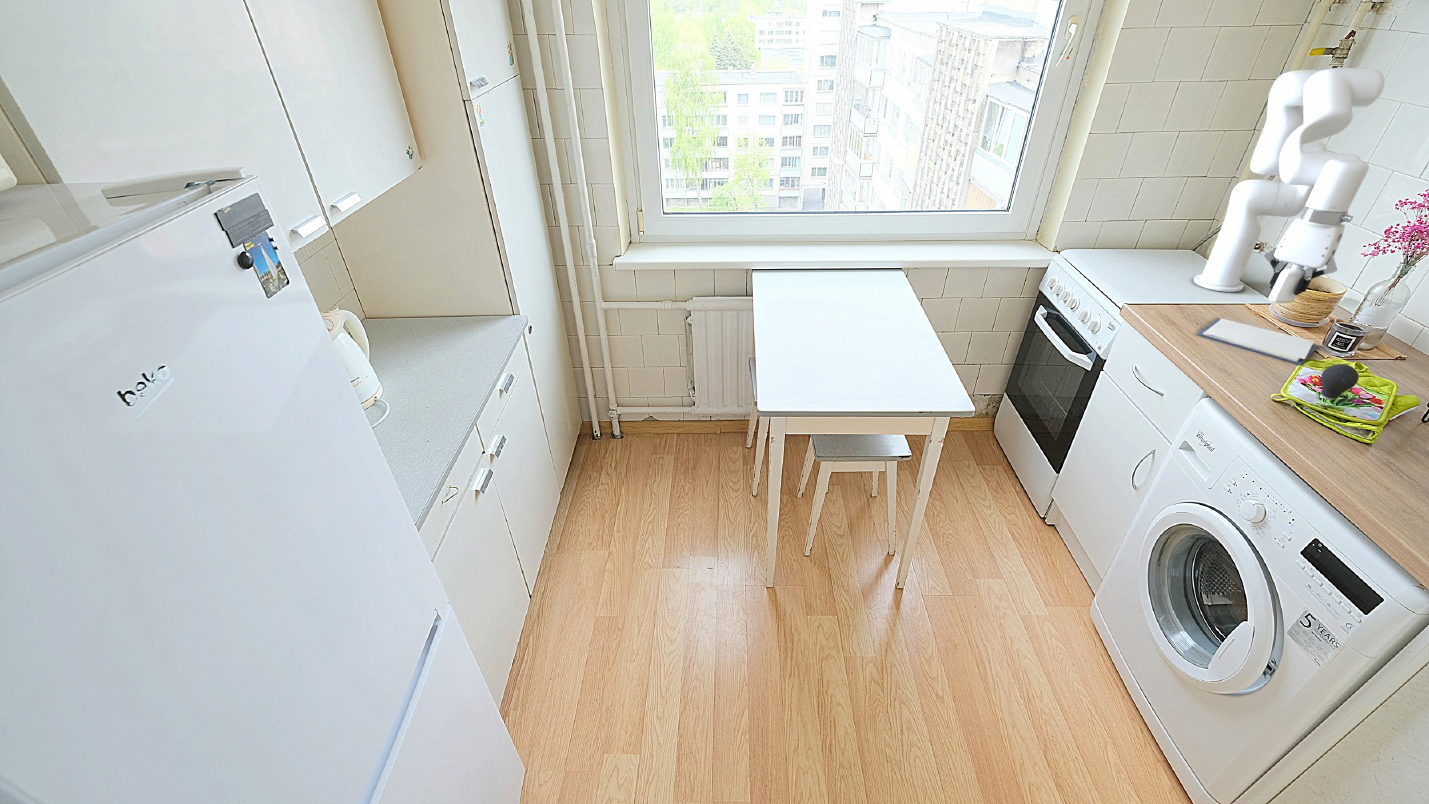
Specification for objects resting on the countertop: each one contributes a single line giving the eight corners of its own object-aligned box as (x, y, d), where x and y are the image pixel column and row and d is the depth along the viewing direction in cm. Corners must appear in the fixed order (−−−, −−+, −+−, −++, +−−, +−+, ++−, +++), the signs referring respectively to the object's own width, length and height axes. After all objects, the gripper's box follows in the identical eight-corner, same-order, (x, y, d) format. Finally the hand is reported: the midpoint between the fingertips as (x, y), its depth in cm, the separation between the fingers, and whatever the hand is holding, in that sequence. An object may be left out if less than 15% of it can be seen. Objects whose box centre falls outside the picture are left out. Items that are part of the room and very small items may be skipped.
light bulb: (1299, 399, 140) (1322, 359, 135) (1325, 399, 140) (1349, 359, 134) (1319, 413, 135) (1343, 371, 130) (1346, 413, 135) (1371, 372, 130)
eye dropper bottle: (1297, 305, 155) (1321, 257, 149) (1269, 302, 157) (1292, 255, 151) (1291, 299, 159) (1314, 252, 152) (1264, 296, 160) (1286, 249, 154)
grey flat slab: (1218, 319, 176) (1219, 315, 176) (1318, 346, 162) (1320, 342, 161) (1197, 334, 168) (1198, 331, 167) (1300, 365, 153) (1302, 361, 153)
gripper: (1374, 222, 143) (1333, 298, 152) (1285, 206, 155) (1252, 277, 164) (1362, 227, 139) (1321, 305, 149) (1272, 210, 151) (1239, 283, 161)
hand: (1285, 290), depth 156 cm, fingers closed on eye dropper bottle, 4 cm apart
